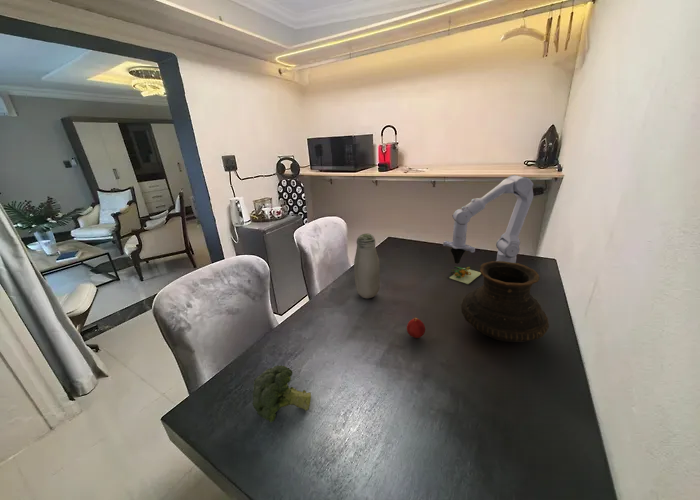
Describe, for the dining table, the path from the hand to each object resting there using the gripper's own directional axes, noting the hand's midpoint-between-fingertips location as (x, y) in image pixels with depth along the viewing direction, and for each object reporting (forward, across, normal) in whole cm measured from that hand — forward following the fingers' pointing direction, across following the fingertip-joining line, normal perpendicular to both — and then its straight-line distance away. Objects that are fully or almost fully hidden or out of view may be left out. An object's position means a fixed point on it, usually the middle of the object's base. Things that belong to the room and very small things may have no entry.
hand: (457, 262), depth 125 cm
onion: (+6, +12, -51) cm, 53 cm away
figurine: (+4, -1, 0) cm, 4 cm away
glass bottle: (+6, -17, -43) cm, 47 cm away
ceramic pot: (+6, +31, -30) cm, 43 cm away
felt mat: (+5, +5, 0) cm, 7 cm away
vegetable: (+6, +3, -95) cm, 95 cm away
